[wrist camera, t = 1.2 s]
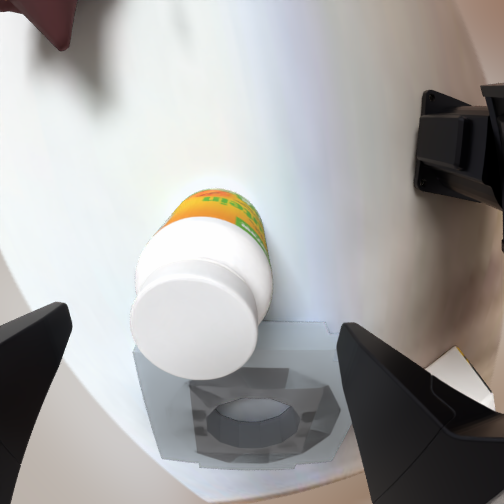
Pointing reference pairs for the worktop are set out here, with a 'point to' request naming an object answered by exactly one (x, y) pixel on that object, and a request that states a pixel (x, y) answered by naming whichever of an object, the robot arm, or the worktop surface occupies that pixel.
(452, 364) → the medicine bottle
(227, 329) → the supplement bottle
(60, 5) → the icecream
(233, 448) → the socket block
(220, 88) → the worktop surface
